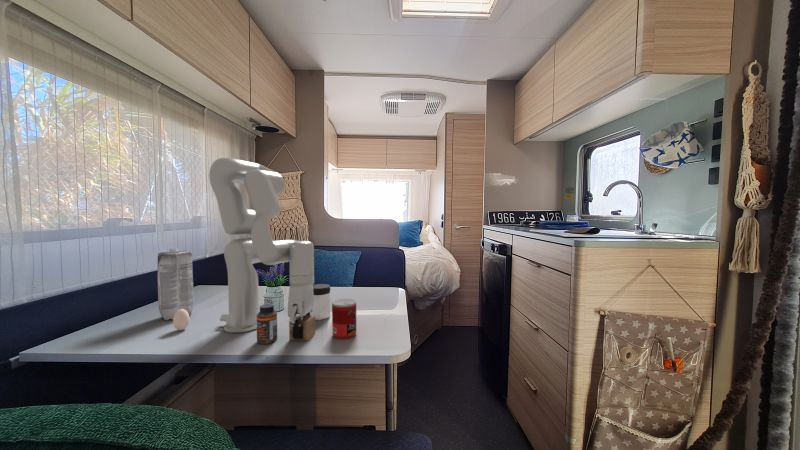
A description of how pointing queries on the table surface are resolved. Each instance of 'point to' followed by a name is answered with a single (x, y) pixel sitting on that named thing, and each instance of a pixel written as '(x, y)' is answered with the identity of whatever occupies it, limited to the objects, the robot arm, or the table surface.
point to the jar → (321, 301)
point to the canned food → (344, 318)
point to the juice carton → (175, 282)
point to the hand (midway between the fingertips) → (302, 333)
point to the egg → (181, 319)
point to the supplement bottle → (266, 324)
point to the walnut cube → (304, 328)
